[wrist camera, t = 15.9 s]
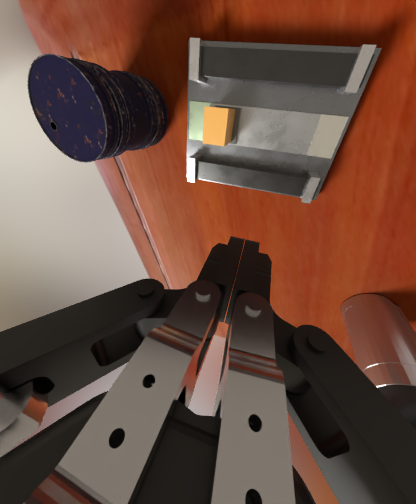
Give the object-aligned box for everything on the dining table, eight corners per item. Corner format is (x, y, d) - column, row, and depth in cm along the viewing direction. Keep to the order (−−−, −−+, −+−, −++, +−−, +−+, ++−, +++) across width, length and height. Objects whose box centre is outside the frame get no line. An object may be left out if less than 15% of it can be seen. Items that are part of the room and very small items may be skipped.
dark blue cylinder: (150, 60, 29) (62, 26, 17) (178, 133, 33) (124, 145, 22) (105, 93, 33) (10, 84, 21) (135, 154, 37) (71, 173, 26)
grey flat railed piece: (374, 52, 22) (395, 39, 18) (313, 196, 33) (318, 207, 28) (194, 44, 26) (178, 32, 22) (190, 174, 37) (179, 182, 32)
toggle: (241, 108, 27) (234, 107, 23) (235, 143, 30) (229, 148, 26) (210, 104, 28) (199, 103, 24) (208, 140, 30) (197, 144, 26)
